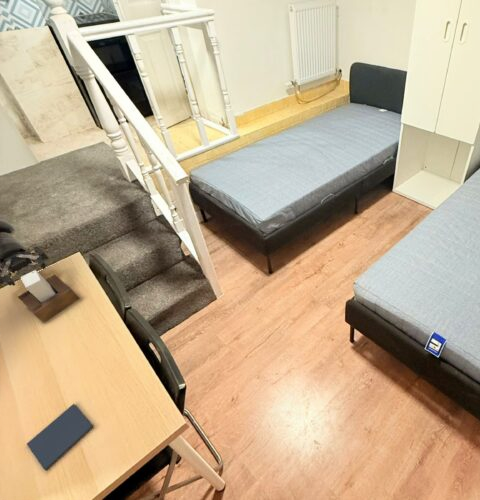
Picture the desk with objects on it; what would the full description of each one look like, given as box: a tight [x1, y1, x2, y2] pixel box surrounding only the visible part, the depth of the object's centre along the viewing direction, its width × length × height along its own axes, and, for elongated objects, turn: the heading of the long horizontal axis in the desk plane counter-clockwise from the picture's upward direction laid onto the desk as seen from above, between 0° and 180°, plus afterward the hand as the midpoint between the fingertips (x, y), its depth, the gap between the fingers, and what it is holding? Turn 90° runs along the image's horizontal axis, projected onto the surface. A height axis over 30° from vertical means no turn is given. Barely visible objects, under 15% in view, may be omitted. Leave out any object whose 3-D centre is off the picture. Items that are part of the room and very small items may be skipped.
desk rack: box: [17, 273, 80, 324], centre depth 106 cm, size 11×11×5 cm
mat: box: [26, 403, 94, 471], centre depth 79 cm, size 11×9×1 cm
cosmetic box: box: [20, 269, 57, 304], centre depth 104 cm, size 6×4×12 cm
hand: (28, 274), depth 103 cm, fingers open, 8 cm apart
